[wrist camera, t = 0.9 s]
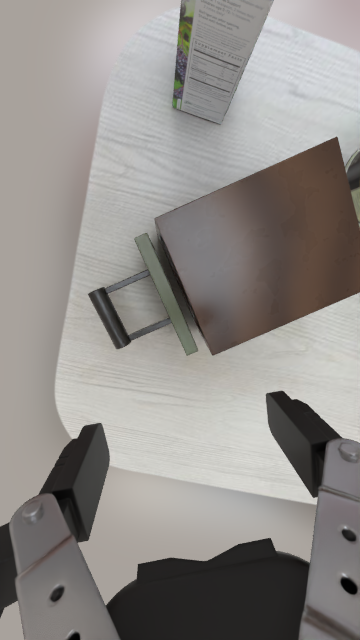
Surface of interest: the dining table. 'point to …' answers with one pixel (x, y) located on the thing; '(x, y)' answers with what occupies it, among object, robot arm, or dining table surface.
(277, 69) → the dining table surface
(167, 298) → the drawer
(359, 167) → the coffee can
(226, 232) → the cabinet
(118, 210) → the dining table surface
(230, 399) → the dining table surface
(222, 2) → the syrup box
